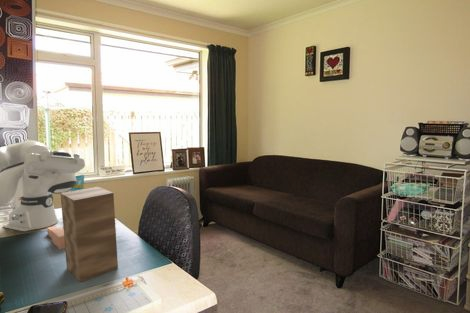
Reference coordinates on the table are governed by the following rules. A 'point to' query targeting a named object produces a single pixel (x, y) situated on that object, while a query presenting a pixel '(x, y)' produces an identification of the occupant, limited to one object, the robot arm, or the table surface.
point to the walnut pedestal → (89, 232)
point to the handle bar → (57, 236)
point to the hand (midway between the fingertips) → (64, 153)
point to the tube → (79, 183)
